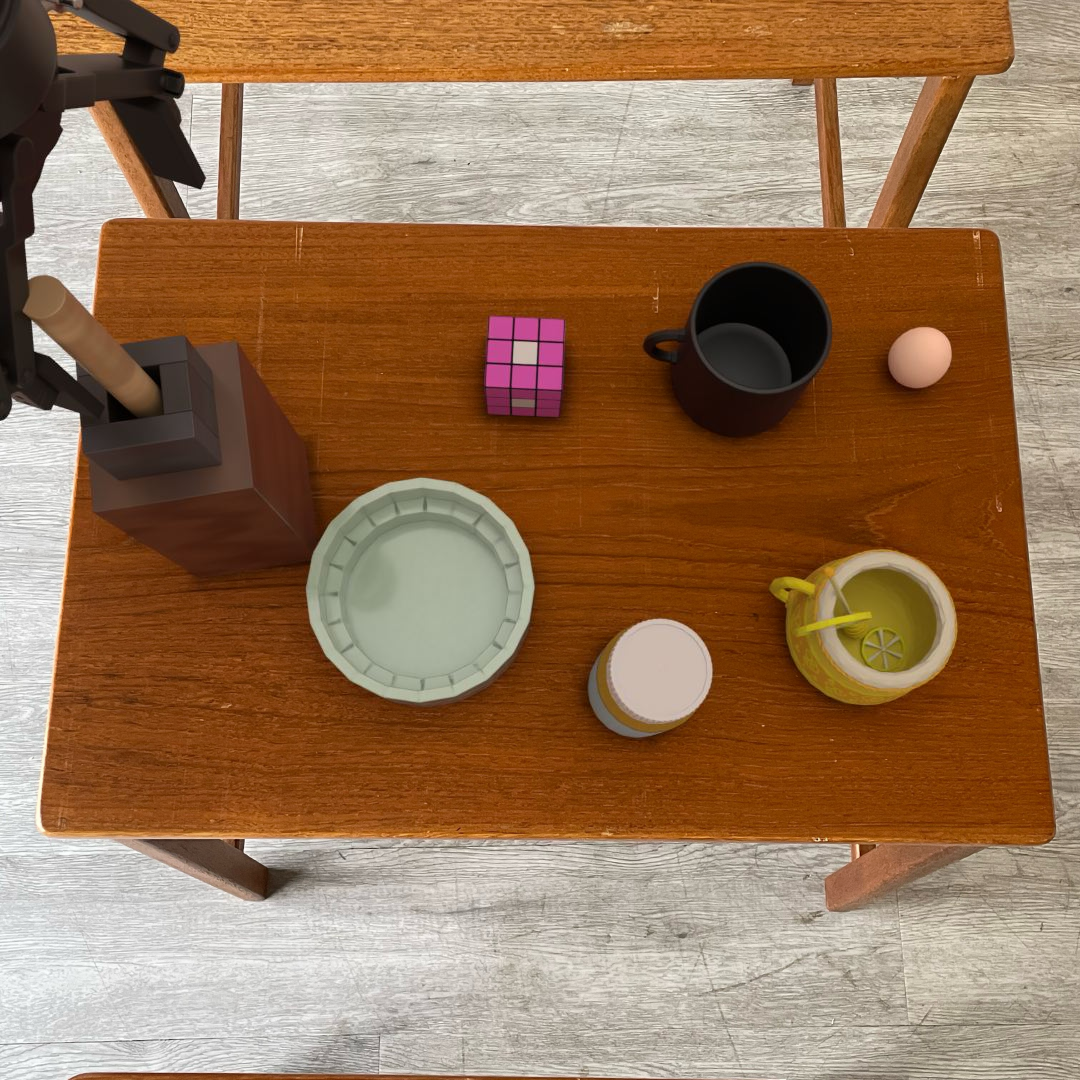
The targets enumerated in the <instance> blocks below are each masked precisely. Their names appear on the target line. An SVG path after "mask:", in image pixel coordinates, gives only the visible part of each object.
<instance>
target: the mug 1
mask: <svg viewBox="0 0 1080 1080" xmlns="http://www.w3.org/2000/svg"><path fill="white" fill-rule="evenodd" d="M691 305H692V306H691V308H690V311H689V314H688V316H687V319H686V322H685V325H684V327H681V328H680V327H679V328H675V329H673V328H671V329H670V328H669V329H662V330H661V329H660V330H658V331H654V332H652V333H649V334H648V335H647V336H646V337H645V338H644V340H643V345H642V350H643V352H644V353H645V354H647V355H648V357H650V358H651V359H654V360H656V361H657V362H661V363H668V364H669V365H670V366H671V370H670V372H671V373H670V374H671V383H672V384H671V385H672V388H673V389H672V390H673V392H674V394H675V398H676V399H677V401H678V403H679V404H680V407H681V408H682V409H683V411H684V412H685V413H686V414H687V416H689V417H690V418H691V419H692V420H693V421H694V422H695V423H697V424H698V425H699V426H701V427H703V428H704V429H707V430H708V431H711V432H712V433H716V434H719V435H723V436H729V437H750V436H754V435H759V434H761V433H764V432H766V431H767V430H770V429H772V428H773V427H774V426H776V425H778V424H779V423H780V422H781V421H783V420H784V418H785V417H786V416H787V415H788V413H789V412H790V411H791V409H792V408H793V407H794V406H795V404H796V403H797V401H798V400H799V399H800V397H801V396H802V394H803V393H804V392H805V390H806V389H807V388H808V386H809V385H810V384H811V382H812V381H813V379H814V378H815V377H816V375H817V374H818V373H819V372H820V370H821V369H822V367H823V366H824V364H825V363H826V360H827V358H828V356H829V354H830V351H831V348H832V343H833V334H834V333H833V321H832V317H831V313H830V310H829V307H828V305H827V303H826V301H825V299H824V297H823V295H822V294H821V292H820V291H819V290H818V289H817V288H816V286H815V285H814V284H813V283H812V282H811V281H810V280H808V278H806V277H805V276H803V275H802V274H800V273H799V272H798V271H795V270H794V269H792V268H790V267H787V266H785V265H781V264H779V263H774V262H769V261H746V262H741V263H737V264H734V265H731V266H729V267H726V268H725V269H721V271H719V272H717V273H716V274H714V275H713V276H711V278H710V279H709V280H707V281H706V282H705V283H704V284H703V286H702V287H701V288H700V290H699V291H698V293H697V294H696V297H695V299H694V300H693V303H692V304H691ZM666 342H677V343H678V344H677V347H676V350H665V349H662V348H659V347H658V346H657V345H658V344H661V343H666Z"/></svg>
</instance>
